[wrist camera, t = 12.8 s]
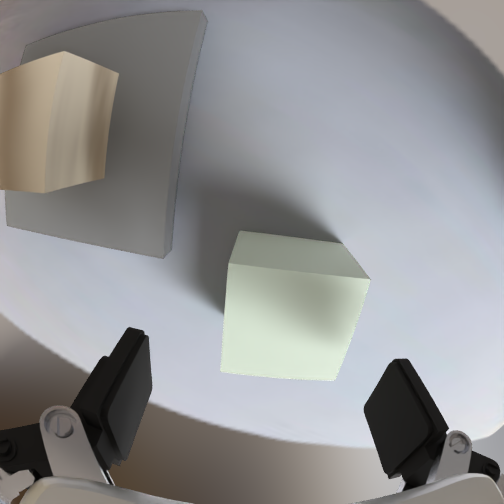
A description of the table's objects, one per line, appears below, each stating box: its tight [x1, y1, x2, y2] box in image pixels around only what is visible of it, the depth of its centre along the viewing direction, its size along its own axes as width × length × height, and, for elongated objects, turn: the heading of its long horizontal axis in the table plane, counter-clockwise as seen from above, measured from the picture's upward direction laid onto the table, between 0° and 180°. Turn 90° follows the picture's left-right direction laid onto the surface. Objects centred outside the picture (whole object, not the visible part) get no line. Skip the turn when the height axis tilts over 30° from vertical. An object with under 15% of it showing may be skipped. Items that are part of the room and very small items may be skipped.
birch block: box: [0, 51, 119, 193], centre depth 10 cm, size 6×6×5 cm
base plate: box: [5, 10, 208, 259], centre depth 13 cm, size 14×14×2 cm
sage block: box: [220, 231, 371, 381], centre depth 14 cm, size 6×6×5 cm
